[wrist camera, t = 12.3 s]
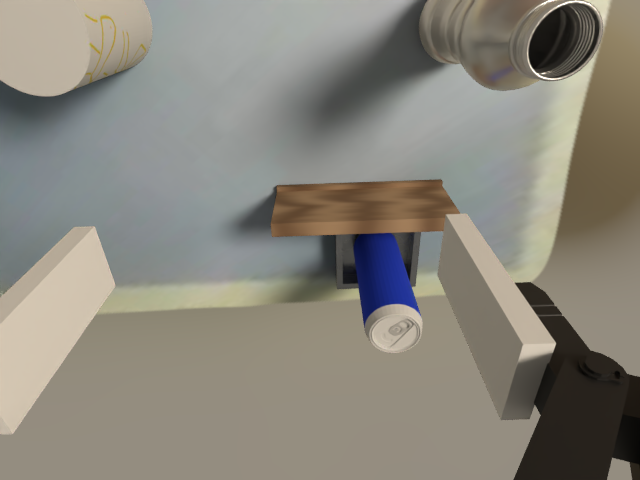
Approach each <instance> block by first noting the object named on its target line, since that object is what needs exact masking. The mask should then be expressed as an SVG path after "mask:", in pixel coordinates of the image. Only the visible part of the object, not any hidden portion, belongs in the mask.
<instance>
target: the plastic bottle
mask: <svg viewBox="0 0 640 480" xmlns="http://www.w3.org/2000/svg"><path fill="white" fill-rule="evenodd" d="M602 33H603V22H602V18H601V15H600V13H599V11H598V10H597V8H596V7H595V6H593V5H592V4H591V3H589V2H586V1H584V0H427V2H426V4H425V5H424V7H423V10H422V12H421V16H420V20H419V35H420V39H421V42H422V45H423V47H424V49H425V51H426V52H427V53H428V54H429V55H430V56H431V57H432V58H433V59H435V60H436V61H439V62H442V63H447V64H462V66H463V67H464V69H465V70H466V72H467V73H468V74H469V75H470V76H471V77H472V78H473V79H474V80H475V81H476V82H478V83H479V84H481V85H482V86H484V87H486V88H489V89H492V90H499V91H507V90H515V89H519V88H523V87H526V86H529V85H531V84H533V83H535V82H538V81H539V80H543V81H558V80H562V79H565V78H568V77H570V76H572V75H574V74H575V73H577V72H578V71H580V70H581V69H582V68H583V67H584V66H585V65H586V64H587V63H588V62H589V61H590V60H591V58H592V57H593V56H594V54H595V52H596V51H597V49H598V46H599V44H600V42H601V38H602Z"/></svg>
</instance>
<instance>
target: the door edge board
mask: <svg viewBox="0 0 640 480" xmlns="http://www.w3.org/2000/svg"><path fill="white" fill-rule="evenodd" d="M442 183H443V181H442V180H414V181H386V182H357V183H329V184H300V185H277V195H276V200H275V205H274V210H273V215H272V220H271V232H272V237H281V236H310V235H340V234H369V233H399V232H429V231H444V224H445V216H446V214H460V212H459V211H458V209H457V208H456V206H455V205H454V203H453V202H452V200H451V199H450V197H449V196H448V194H447V193H446V191H445V190H444V188H443V187H442Z"/></svg>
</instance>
